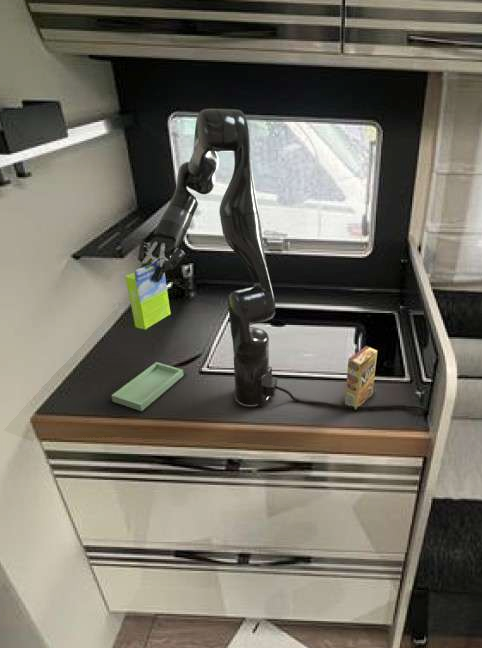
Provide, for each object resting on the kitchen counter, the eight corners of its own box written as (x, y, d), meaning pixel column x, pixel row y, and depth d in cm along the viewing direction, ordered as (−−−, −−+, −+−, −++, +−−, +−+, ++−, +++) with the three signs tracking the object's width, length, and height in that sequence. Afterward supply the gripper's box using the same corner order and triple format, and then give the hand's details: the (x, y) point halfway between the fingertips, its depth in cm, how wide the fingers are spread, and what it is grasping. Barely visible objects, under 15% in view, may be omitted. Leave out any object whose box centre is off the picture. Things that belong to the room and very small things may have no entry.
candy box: (356, 410, 110) (361, 364, 103) (343, 404, 112) (347, 358, 105) (372, 394, 116) (378, 350, 110) (360, 388, 118) (365, 344, 112)
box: (161, 311, 118) (152, 256, 111) (172, 314, 117) (164, 258, 110) (133, 327, 109) (121, 268, 102) (145, 330, 107) (134, 271, 100)
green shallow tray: (183, 375, 118) (183, 369, 117) (141, 411, 104) (140, 405, 103) (157, 367, 121) (156, 361, 120) (112, 401, 106) (111, 395, 105)
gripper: (145, 215, 112) (117, 269, 106) (187, 222, 108) (161, 278, 103) (161, 228, 119) (136, 280, 113) (201, 235, 115) (177, 289, 109)
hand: (148, 279), depth 108 cm, fingers closed on box, 4 cm apart
